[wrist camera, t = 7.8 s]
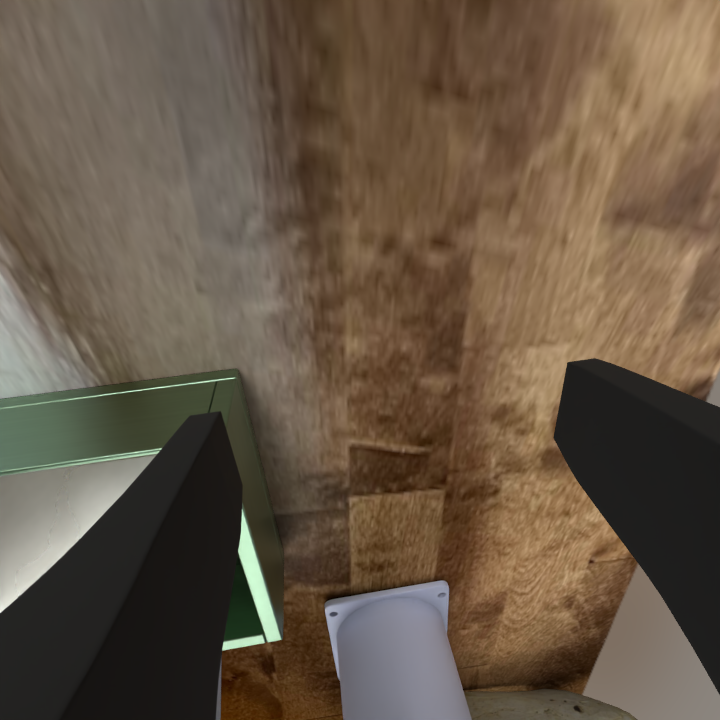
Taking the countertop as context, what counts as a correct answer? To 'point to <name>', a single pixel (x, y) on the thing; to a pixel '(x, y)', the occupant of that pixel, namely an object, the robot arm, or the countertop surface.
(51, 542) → the bin lid
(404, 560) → the countertop surface
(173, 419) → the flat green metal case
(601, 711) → the jawbone
